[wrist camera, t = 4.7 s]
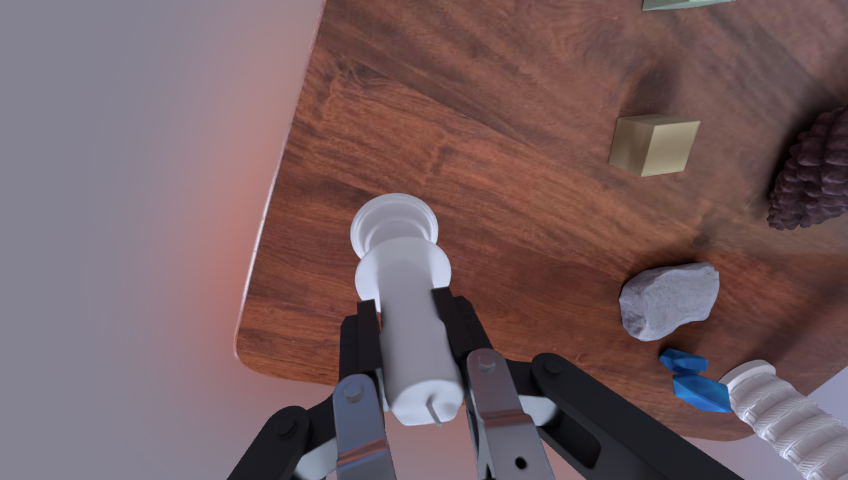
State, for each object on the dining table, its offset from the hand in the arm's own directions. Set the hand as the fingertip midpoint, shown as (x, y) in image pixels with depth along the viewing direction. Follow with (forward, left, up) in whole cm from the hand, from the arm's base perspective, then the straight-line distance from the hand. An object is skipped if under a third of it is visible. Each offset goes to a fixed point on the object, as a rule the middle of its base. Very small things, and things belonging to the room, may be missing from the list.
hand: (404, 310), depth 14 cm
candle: (0, 0, -7) cm, 7 cm away
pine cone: (+3, +49, -18) cm, 52 cm away
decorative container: (+48, +63, -18) cm, 81 cm away
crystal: (+36, +44, -18) cm, 60 cm away
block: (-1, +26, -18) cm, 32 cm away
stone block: (+20, +36, -18) cm, 45 cm away
